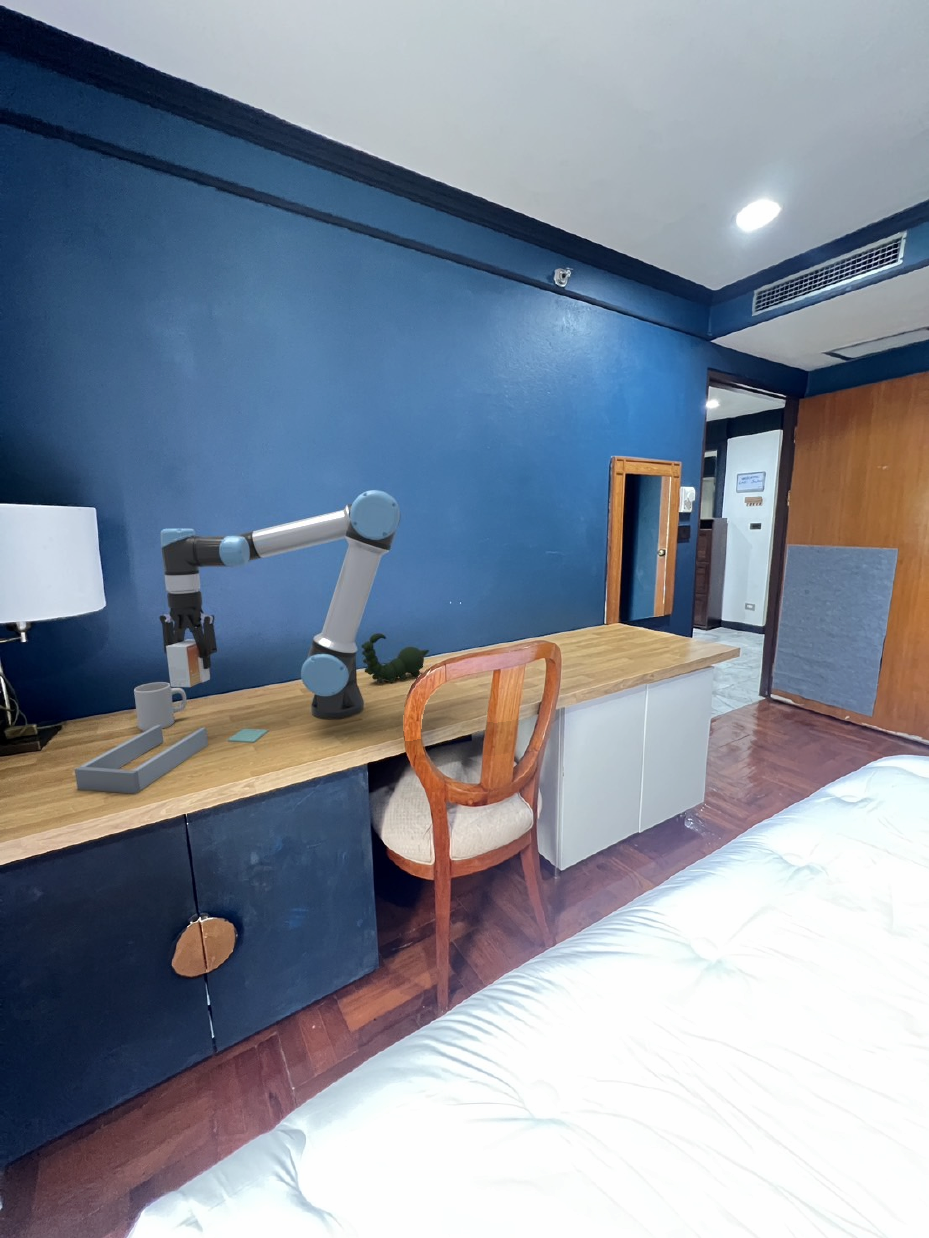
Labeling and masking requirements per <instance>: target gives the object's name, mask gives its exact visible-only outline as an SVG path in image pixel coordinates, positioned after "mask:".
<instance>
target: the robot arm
mask: <svg viewBox="0 0 929 1238" xmlns="http://www.w3.org/2000/svg"><path fill="white" fill-rule="evenodd" d="M401 515H402V514H401V509H400V506H399V504H398V502H397V500H396V499H395V498H394V497H393V496H392V495H391V494H389V493H388V492H385V491H383V490H379V489H375V490H374V489H372V490H367V491H364V492H362V493H361V494H359V495H358V496H357V497H356V498H355V500H354V501H353V502H352V503H351V504H346V506H345V507H344V509H342V510H337V511H333V512H328V513H325V514H320V515H316V516H312V517H308V518H303V519H300V520H294V521H292V522H291V521H290V522H286V523H282V524H279V525H274V526H271V527H266V528H261V529H257V530H254V531H248V532H244V533H240V534H235V535H219V536H214V535H213V536H199V535H196V534H197V533H196V532H195V530H194V529H193V528H164V529H162V530H161V531H160V549H161V556H162V563H163V569H164V572H163V573H164V580H165V581H164V582H165V590H166V592H168V593H167V594H166V596H167V606H168V608H169V609H170V610H169V613H168V614H167V613H166V614H163V615H160V616H159V621H160V623H161V626H162V628H161V630H162V638H163V639H162V640H163V652H164V653H165V654H166V655H167V650H166V646H169V645H173V644H176V643H179V642H182V641H185V637H186V631H187V629H188V630H189V632H190V633H191V634H192V637H193V639H195V642H196V644H197V647H198V650H199V652H200V655H201V656H199V657H198V663H199V672H200V681H201V682H200V683H205V682H207V681H209V680H211V674H209V671H210V669H211V666H212V661H211V655H213V654H216V653H217V652H218V647H217V641H216V640H217V638H216V633H215V625H214V623H215V615H214V614H211V615H209V614H206V613H204V610H203V609H202V606H203V596H202V592H201V590H200V589H201V587H202V586H201V579H200V578H201V577H200V570H199V569H200V568H210V567H211V568H213V567H214V568H221V567H222V568H225V567H227V568H228V567H229V568H236V567H245V566H246V565H247V564H249V562H252V561H255V560H260V559H263V558H267V557H272V556H276V555H280V554H285V553H289V552H293V551H297V550H302V549H306V548H310V547H314V546H318V545H323V544H326V543H331V542H335V541H339V540H344V539H345V540H346V541H347V543H348V547H347V549H346V553H345V556H344V559H343V562H342V566H341V569H340V573H339V576H338V578H337V581H336V585H335V589H334V591H333V594H332V598H331V601H330V604H329V608H328V612H327V614H326V617H325V621H324V623H323V628H322V630H321V632H320V633H318V634H316V635H314V637H313V639H312V642H311V645H310V649H309V652H308V655H307V658H306V660H305V661H304V663H303V664H302V666H301V671H300V676H301V681H302V684H303V685H304V686H305V688H306V690H308V691H309V692H311V693H312V694H313V696H312V702H311V703H310V704H311V705H310V709H311V715H313V716H314V717H316V718H319V719H324V720H325V719H326V720H338V719H345V718H351V717H354V716H356V715H359V714H360V713H361V712H363V711H364V709H365V700H364V698H363V695H362V693H361V690H360V687H359V684H358V678H357V658H356V656H357V653H358V647H357V643H356V638H357V633H358V631H359V628H360V625H361V621H362V618H363V615H364V612H365V608H366V606H367V603H368V599H369V596H370V593H371V590H372V587H373V584H374V581H375V578H376V575H377V571H378V568H379V565H380V562H381V559H382V557H383V556H384V555H385V554H387V553H389V552H390V551H391V547H392V545H393V541H394V539H395V535H396V531H397V530H398V527H399V526H400V522H401V517H402V516H401Z"/></svg>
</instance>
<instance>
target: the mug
mask: <svg viewBox="0 0 929 1238" xmlns="http://www.w3.org/2000/svg"><path fill="white" fill-rule="evenodd" d="M133 693H134V694H133V695H134V699H135V701H134V702H135V709H136V716H137V717H136V718H137V725H138V730H140V731H142V732H145V731H147V730H149V729H150V728H152V727H154V726H156V725H162V730H163V729H166V728H168V727H171V726H172V725H173V724H174V723H175V721H176V720H175V713H178V712H181V711H183V710H184V709H185V708H186V707H187V695H186V692H185V690H184V689H183V688H182V687H171V684H170V682H166V681H165V682H164V681H155V682H149V683H145V684H141V685H138V686H136V687H135V688H134V690H133ZM175 694H176V695H177V694H179V695H181V698H182V701H181V704H180V705H176V706H175V705H174V704H173V696H174V695H175Z"/></svg>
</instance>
